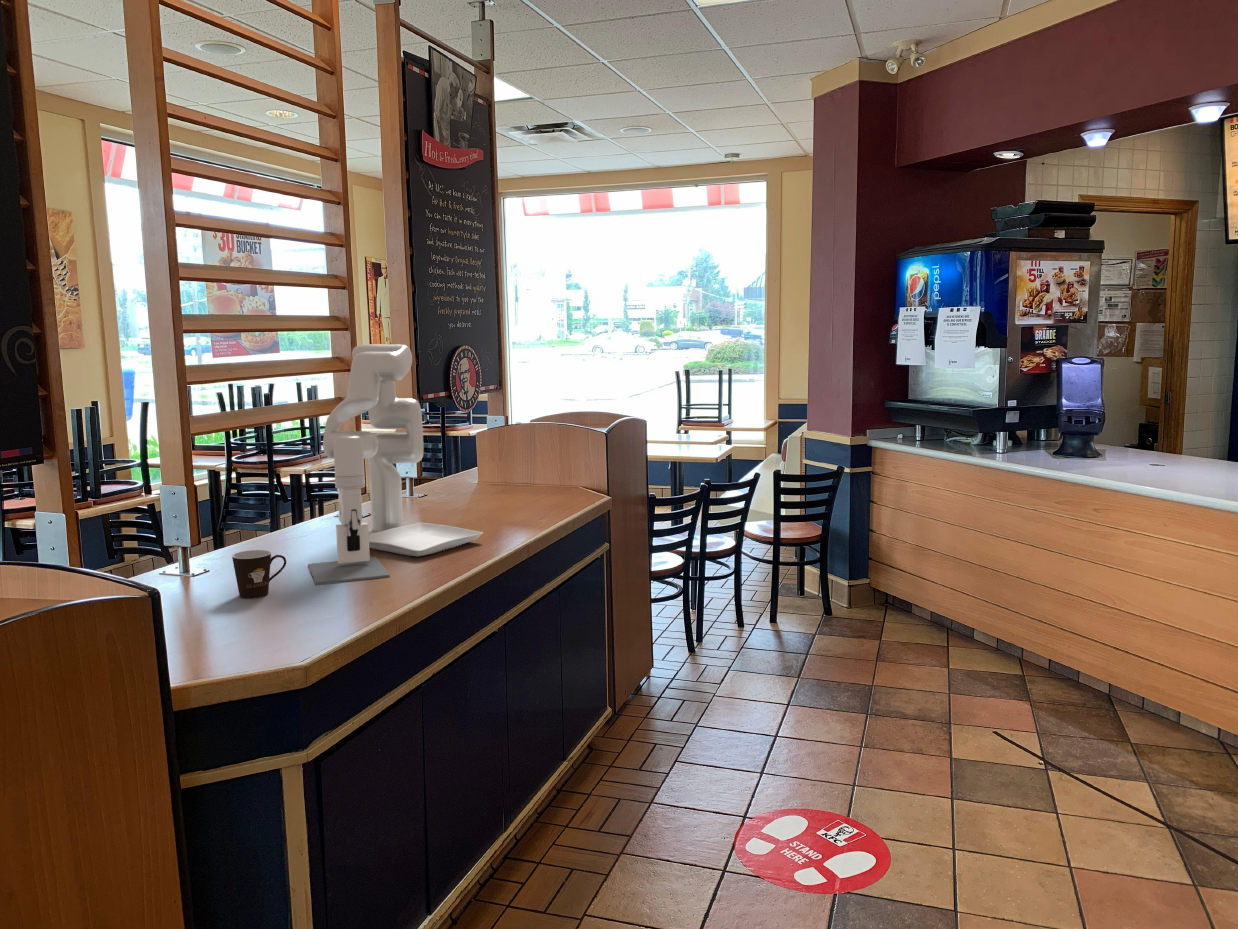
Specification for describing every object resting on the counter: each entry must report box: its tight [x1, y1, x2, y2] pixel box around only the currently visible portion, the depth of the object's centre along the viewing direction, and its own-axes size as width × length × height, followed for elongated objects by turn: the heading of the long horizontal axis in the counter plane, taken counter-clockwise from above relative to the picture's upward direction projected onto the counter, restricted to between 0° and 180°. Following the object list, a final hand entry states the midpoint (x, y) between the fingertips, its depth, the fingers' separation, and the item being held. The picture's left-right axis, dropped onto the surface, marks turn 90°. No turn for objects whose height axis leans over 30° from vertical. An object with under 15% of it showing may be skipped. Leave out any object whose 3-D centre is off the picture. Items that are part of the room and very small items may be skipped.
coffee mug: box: [231, 549, 287, 600], centre depth 210 cm, size 12×9×10 cm
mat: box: [307, 556, 390, 586], centre depth 231 cm, size 20×18×1 cm
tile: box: [335, 522, 371, 564], centre depth 235 cm, size 3×8×10 cm, turn 115°
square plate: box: [369, 522, 484, 557], centre depth 260 cm, size 27×27×4 cm
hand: (352, 548), depth 235 cm, fingers closed on tile, 2 cm apart
